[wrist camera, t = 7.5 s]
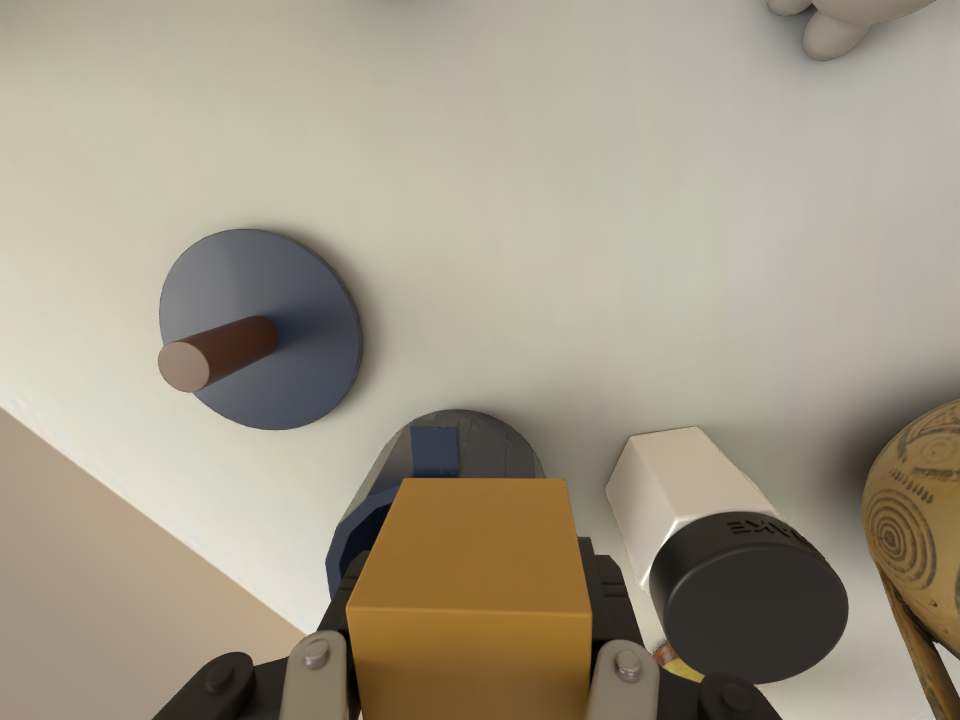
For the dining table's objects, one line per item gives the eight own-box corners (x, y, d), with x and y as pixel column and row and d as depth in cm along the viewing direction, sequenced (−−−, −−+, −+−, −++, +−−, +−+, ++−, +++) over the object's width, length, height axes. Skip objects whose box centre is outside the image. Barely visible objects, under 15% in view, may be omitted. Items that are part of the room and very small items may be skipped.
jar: (754, 489, 31) (893, 639, 20) (657, 549, 33) (733, 717, 22) (679, 399, 30) (783, 504, 18) (583, 467, 32) (623, 601, 20)
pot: (387, 583, 36) (345, 701, 27) (366, 373, 31) (305, 432, 22) (543, 588, 35) (553, 713, 26) (546, 372, 30) (561, 434, 21)
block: (416, 605, 15) (371, 778, 10) (403, 477, 14) (343, 607, 9) (564, 610, 15) (586, 792, 10) (565, 477, 13) (593, 615, 9)
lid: (194, 422, 33) (95, 482, 25) (151, 231, 29) (19, 232, 22) (374, 424, 32) (329, 486, 24) (354, 226, 28) (292, 224, 20)
